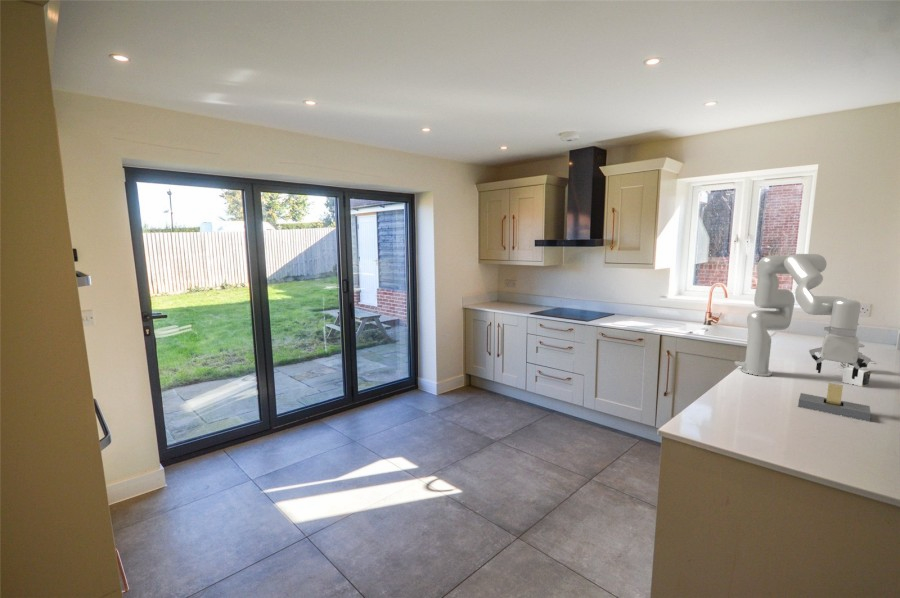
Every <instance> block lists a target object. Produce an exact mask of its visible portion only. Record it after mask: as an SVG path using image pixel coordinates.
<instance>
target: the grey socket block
mask: <svg viewBox="0 0 900 598" xmlns="http://www.w3.org/2000/svg"><path fill="white" fill-rule="evenodd" d="M826 400H827V397H825V396H820V395H813V394H807V393H803V392H800V394H799V398H798V403H797V407H798V408H802V407H803V408H802V409H807V410H812V409H813V410H812V411H816V410H819V411H818V412H821V411H823V412H822V413H826V412H828V413H827V414H831V413H832V414H831V415H836V416H840V415H842V417H845V416H846V418H850V417H852V418H851V419H855V418H856V419H857V420H860V419H861V421H864V420H866V421H865V422H869V421H870V420H871V405H867V404H860V403H855V402H852V401H851V402H849V401H846V400H845V401H844V400H841V404H840V406H838V405H833V404H827V403H826ZM870 422H871V421H870Z"/></svg>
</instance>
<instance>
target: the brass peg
mask: <svg viewBox="0 0 900 598" xmlns="http://www.w3.org/2000/svg"><path fill="white" fill-rule="evenodd" d="M843 386H844V385H842V384H838V383H831V382H828V385H827V392H826V393H827V394H826V398H827V400H826V403H827V404H833V405H838V406H840V404H841V401H842V397H843V395H842V394H843V389H844V388H843Z"/></svg>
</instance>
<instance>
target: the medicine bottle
mask: <svg viewBox="0 0 900 598" xmlns="http://www.w3.org/2000/svg"><path fill="white" fill-rule="evenodd" d="M863 361H864V359H862V358H858V359H857V363H858V364H860V363H862V362H863ZM853 367H854V366H853V365H852V364H849V367H846V368H844V371H843V373H842V380H841V381H842V383H843V382H844V384H847V383H849V385H852V384H854V385H853V386H856V385H858V386H857V387H860V386H863V387H865V385H866V386H869V385H870V379H871V378H870V377H871V372H872V371H871V369H869V368H868V364H867V365H866V366H864V367H862V368H860V369H859V370H858V376H857V377H855V379H852V372H853ZM867 368H868V369H867Z"/></svg>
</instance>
